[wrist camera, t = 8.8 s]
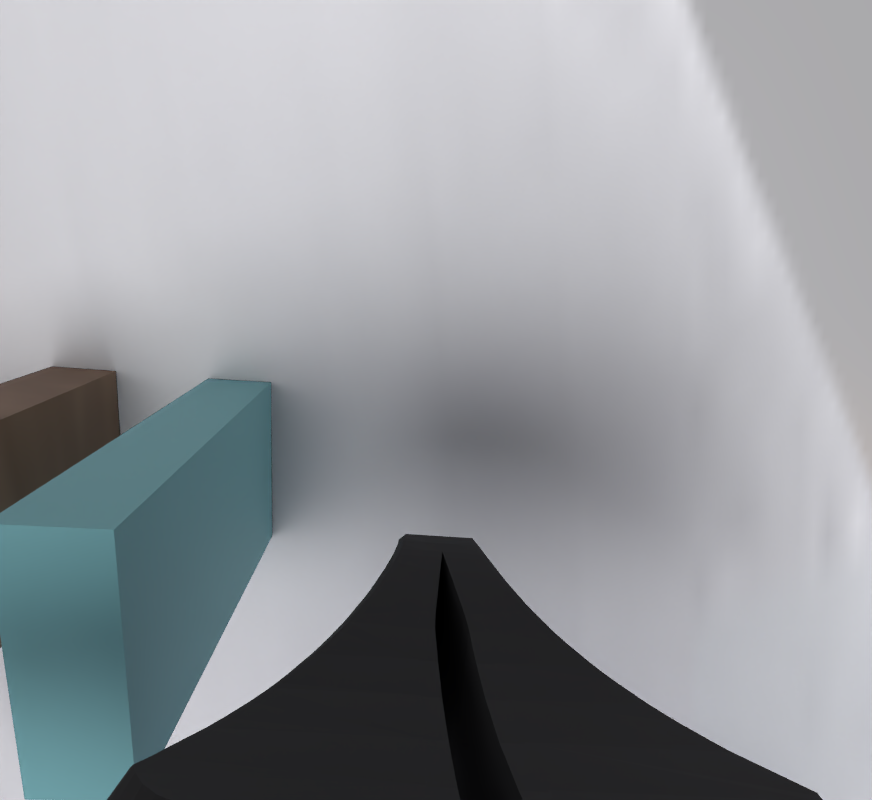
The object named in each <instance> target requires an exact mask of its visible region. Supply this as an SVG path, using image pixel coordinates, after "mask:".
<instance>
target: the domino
mask: <svg viewBox="0 0 872 800" xmlns="http://www.w3.org/2000/svg"><path fill="white" fill-rule="evenodd" d="M119 436H120V430H119V414H118V399H117V384H116V371H106V370H92V369H78V368H64V367H49V368H46V369H43V370H40V371H37V372H34V373H31V374H28V375H25V376H22V377H19V378H16V379H13V380H10V381H7V382H4V383H1V384H0V513H1V512H2V511H4V510H5V509H7V508H9V507H10V506H12V505H13V504H15V503H16V502H18V501H19V500H21V499H23V498H24V497H26V496H27V495H29V494H30V493H32V492H33V491H35V490H36V489H38V488H40V487H41V486H43V485H44V484H46V483H47V482H49V481H50V480H52V479H54V478H55V477H57V476H58V475H60V474H61V473H63V472H64V471H66V470H67V469H69V468H71V467H72V466H74V465H75V464H77V463H78V462H80V461H81V460H83V459H85V458H86V457H88V456H89V455H91V454H92V453H94V452H95V451H97V450H98V449H100V448H102V447H103V446H105V445H106V444H108V443H109V442H111V441H112V440H114V439H116V438H117V437H119ZM1 647H2V644H1V637H0V648H1Z"/></svg>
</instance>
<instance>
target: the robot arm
mask: <svg viewBox="0 0 872 800" xmlns="http://www.w3.org/2000/svg"><path fill="white" fill-rule="evenodd" d="M107 800H822V799H821V797H820V796H819V795H818V793H816V792H814V791H812V790H810V789H808V788H806V787H803V786H801V785H799V784H797V783H795V782H793V781H791V780H789V779H787V778H785V777H783V776H780V775H778V774H776V773H774V772H772V771H770V770H768V769H766V768H764V767H762V766H759V765H757V764H755V763H753V762H751V761H749V760H747V759H745V758H743V757H741V756H739V755H736V754H734V753H732V752H730V751H728V750H726V749H725V748H723V747H721V746H719V745H717V744H715V743H714V742H712V741H710V740H708V739H706V738H705V737H703V736H701V735H699V734H698V733H696V732H694V731H692V730H690V729H689V728H687V727H685V726H683V725H682V724H680V723H678V722H676V721H675V720H673V719H671V718H670V717H668V716H666V715H665V714H663V713H662V712H660V711H658V710H657V709H655V708H653V707H652V706H650V705H649V704H647V703H646V702H644V701H643V700H641V699H640V698H638V697H637V696H635V695H634V694H632V693H631V692H630V691H628V690H627V689H625V688H624V687H622V686H621V685H619V684H618V683H616V682H615V681H613V680H612V679H611V678H609V677H608V676H607V675H605V674H604V673H603V672H601V671H600V670H599V669H597V668H596V667H595V666H593V665H592V664H591V663H590V662H588V661H587V660H586V659H585V658H584V657H582V656H581V655H580V654H579V653H578V652H576V651H575V650H574V649H573V648H571V647H570V646H569V645H568V644H567V643H565V642H564V641H563V640H562V639H561V638H560V637H559V636H558V635H557V634H555V633H554V632H553V631H552V630H551V629H550V628H549V627H548V626H547V625H546V624H545V623H544V622H543V621H542V620H541V619H540V618H539V617H538V616H537V615H536V614H535V613H534V612H533V611H532V610H531V609H530V608H529V607H528V606H527V605H526V604H525V603H524V602H523V600H522V599H521V598H520V597H519V596H518V595H517V594H516V592H515V591H514V590H513V589H512V588H511V587H510V585H509V584H508V583H507V582H506V581H505V579H504V578H503V577H502V576H501V575H500V573H499V572H498V571H497V569H496V568H495V567H494V566H493V564H492V563H491V562H490V560H489V559H488V558H487V556H486V555H485V554H484V552H483V551H482V550H481V549H480V547H479V546H478V545H477V543H476V542H475V541H474V540H473V539H472V538H459V537H443V536H427V535H411V534H405V535H404V536H403V537H402V538H400V539H399V542H398V545H397V547H396V550H395V552H394V554H393V556H392V558H391V559H390V561H389V563H388V564H387V566H386V568H385V569H384V571H383V572H382V574H381V575H380V577H379V578H378V580H377V581H376V583H375V584H374V586H373V587H372V588H371V590H370V591H369V593H368V594H367V595H366V596H365V598H364V599H363V600H362V601H361V602H360V604H359V605H358V606H357V607H356V608H355V610H354V611H353V612H352V613H351V615H350V616H349V617H348V618H347V619H346V620H345V621H344V623H343V624H342V625H341V626H340V627H339V628H338V629H337V630H336V631H335V632H334V633H333V634H332V635H331V636H330V637H329V638H328V639H327V640H326V641H325V642H324V643H323V644H322V645H321V646H320V647H319V648H318V649H317V650H316V651H314V652H313V653H312V654H311V655H310V656H309V657H308V658H306V659H305V660H304V661H303V662H302V663H300V664H299V665H298V666H297V667H296V668H294V669H293V670H292V671H291V672H290V673H289V674H287V675H286V676H285V677H283V678H282V679H281V680H280V681H278V682H277V683H276V684H274V685H273V686H272V687H270V688H269V689H268V690H266V691H265V692H263V693H262V694H260V695H259V696H257V697H256V698H254V699H253V700H251V701H250V702H248V703H247V704H245V705H243V706H242V707H240V708H239V709H237V710H235V711H234V712H232V713H230V714H229V715H227V716H226V717H224V718H222V719H220V720H219V721H217V722H215V723H213V724H212V725H210V726H208V727H206V728H205V729H203V730H201V731H199V732H197V733H195V734H193V735H191V736H189V737H187V738H185V739H183V740H181V741H179V742H177V743H175V744H173V745H172V746H170V747H168V748H166V749H164V750H162V751H160V752H158V753H156V754H154V755H152V756H150V757H148V758H146V759H144V760H142V761H139V762H137V763H135V764H133V765H132V766H131V767H130V768H129V770H128V771H127V772H126V774H125V775H124V776H123V778H122V779H121V781H120V782H119V783H118V785H117V786H116V788H115V789H114V790H113V792H112V793H111V795H110V796H109V797H108V799H107Z"/></svg>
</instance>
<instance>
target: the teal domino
mask: <svg viewBox="0 0 872 800" xmlns="http://www.w3.org/2000/svg"><path fill="white" fill-rule="evenodd" d="M271 537H272V457H271V382H256V381H239V380H222V379H207V380H205V381H204V382H202V383H201V384H199V385H198V386H196V387H195V388H193V389H192V390H190V391H188V392H187V393H185V394H184V395H182V396H181V397H179V398H178V399H176V400H174V401H173V402H171V403H170V404H168V405H167V406H165V407H164V408H162V409H160V410H159V411H157V412H156V413H154V414H153V415H151V416H150V417H148V418H147V419H145V420H143V421H142V422H140V423H139V424H137V425H136V426H134V427H133V428H131V429H129V430H128V431H126V432H125V433H123V434H122V435H120V436H119V437H117V438H116V439H114V440H112V441H111V442H109V443H108V444H106V445H105V446H103V447H102V448H100V449H98V450H97V451H95V452H94V453H92V454H91V455H89V456H88V457H86V458H85V459H83V460H81V461H80V462H78V463H77V464H75V465H74V466H72V467H71V468H69V469H67V470H66V471H64V472H63V473H61V474H60V475H58V476H57V477H55V478H54V479H52V480H50V481H49V482H47V483H46V484H44V485H43V486H41V487H40V488H38V489H36V490H35V491H33V492H32V493H30V494H29V495H27V496H26V497H24V498H23V499H21V500H19V501H18V502H16V503H15V504H13V505H12V506H10V507H9V508H7V509H5V510H4V511H2V512H1V513H0V637H1V644H2V651H3V657H4V664H5V671H6V678H7V684H8V691H9V698H10V704H11V711H12V718H13V724H14V731H15V738H16V744H17V751H18V758H19V764H20V771H21V778H22V785H23V791H24V798H25V799H28V800H107V799H108V797H109V796H110V795H111V793H112V792H113V790H114V789H115V788H116V786H117V785H118V783H119V782H120V781H121V779H122V778H123V776H124V775H125V774H126V772H127V771H128V770H129V768H130V767H131V766H132V765H133V764H135V763H137V762H139V761H142V760H144V759H146V758H148V757H150V756H152V755H154V754H156V753H158V752H160V751H162V750H164V749H165V747H166V745H167V743H168V741H169V739H170V737H171V735H172V733H173V731H174V729H175V727H176V725H177V723H178V721H179V719H180V717H181V715H182V713H183V711H184V709H185V707H186V705H187V703H188V701H189V699H190V697H191V695H192V693H193V691H194V689H195V687H196V685H197V683H198V681H199V679H200V677H201V675H202V673H203V671H204V670H205V668H206V666H207V664H208V662H209V660H210V658H211V656H212V654H213V652H214V650H215V648H216V646H217V644H218V642H219V640H220V638H221V636H222V634H223V632H224V630H225V628H226V626H227V624H228V622H229V620H230V618H231V616H232V614H233V612H234V610H235V608H236V606H237V604H238V602H239V600H240V598H241V596H242V594H243V592H244V590H245V588H246V587H247V585H248V583H249V581H250V579H251V577H252V575H253V573H254V571H255V569H256V567H257V565H258V563H259V561H260V559H261V557H262V555H263V553H264V551H265V549H266V547H267V545H268V543H269V541H270V539H271Z"/></svg>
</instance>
